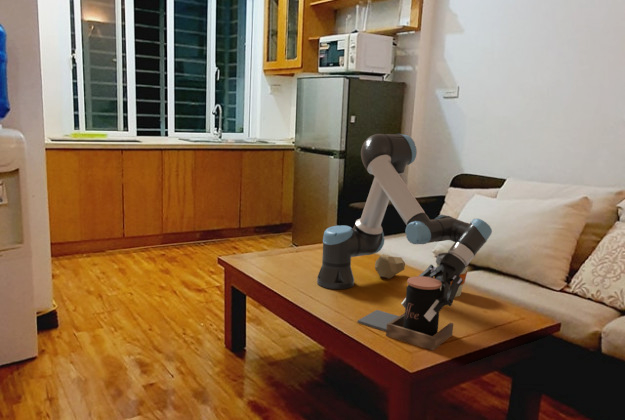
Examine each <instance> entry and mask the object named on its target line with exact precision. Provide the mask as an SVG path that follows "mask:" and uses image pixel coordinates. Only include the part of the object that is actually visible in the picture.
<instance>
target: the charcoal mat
mask: <svg viewBox="0 0 625 420" xmlns="http://www.w3.org/2000/svg"><path fill="white" fill-rule="evenodd" d="M399 316H400V315H396V314H393V313H389V312H386V311H382V310H379V309H376V310H374V311H373V312H370V313H369V314H367V315H365V316H363V317H361V318H360V319H358V320H357V321H356V322H357V324H361V325H364V326H367V327H369V328H370V327H371V328H373V329H377V330H380V331H383V332H386V329H387V324H388V323H389V322H391V321H393V320H394V319H396V318H397V317H399Z"/></svg>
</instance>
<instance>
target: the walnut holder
mask: <svg viewBox="0 0 625 420" xmlns="http://www.w3.org/2000/svg"><path fill="white" fill-rule="evenodd" d="M398 316H399V317H397V318H396V319H394V320H393V321H391V322H389V323H388V324H387V329H386V331H385V333H386V334H385V336H386V337H389V338H391V339H395V340H398V341H401V342H405V343H408V344H411V345H414V346H418V347H420V348H422V349H426V350H430V351H435V350H436V349H437V348H439V346H441V345H442V344H443V343H445V342H446V341H447V340H448V339H449V338H450V337H452V336H453V333H454V332H453V330H454V323H453V322H449V323H448V324H447V325H445V326H444V327H442V329H440V330H438V332H437V333H436V334H435V335H433V336H430V335H427V334H423V333H420V332H417V331H413V330H410V329H407V328H404V317H405V312H404V313H403V314H401V315H398Z"/></svg>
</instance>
